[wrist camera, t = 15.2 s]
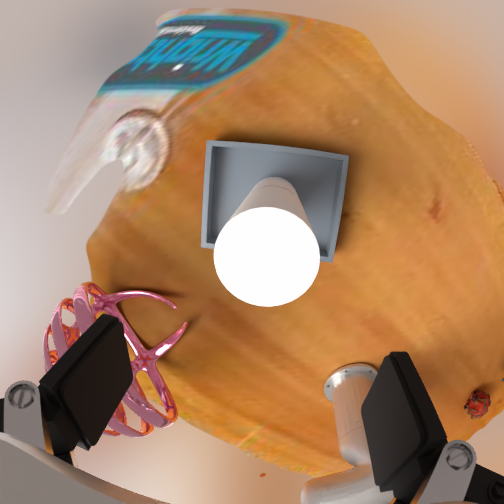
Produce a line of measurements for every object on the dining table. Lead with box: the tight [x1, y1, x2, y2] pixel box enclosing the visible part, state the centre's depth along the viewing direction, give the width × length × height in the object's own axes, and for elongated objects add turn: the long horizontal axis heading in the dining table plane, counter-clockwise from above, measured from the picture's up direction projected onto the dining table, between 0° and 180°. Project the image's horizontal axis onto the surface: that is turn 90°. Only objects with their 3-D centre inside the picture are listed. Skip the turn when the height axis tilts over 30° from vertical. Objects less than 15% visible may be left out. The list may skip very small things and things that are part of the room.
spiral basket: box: [43, 282, 188, 438], centre depth 42 cm, size 28×28×27 cm
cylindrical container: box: [214, 177, 320, 307], centre depth 31 cm, size 7×7×25 cm
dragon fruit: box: [464, 390, 491, 419], centre depth 52 cm, size 8×8×12 cm
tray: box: [201, 140, 349, 263], centre depth 41 cm, size 20×16×4 cm
